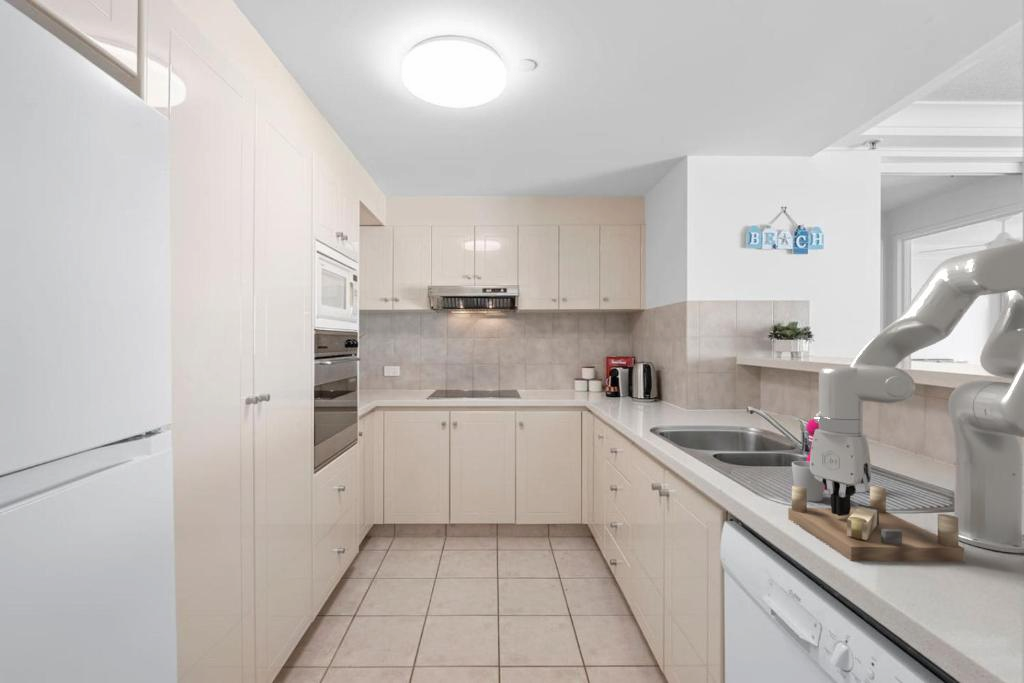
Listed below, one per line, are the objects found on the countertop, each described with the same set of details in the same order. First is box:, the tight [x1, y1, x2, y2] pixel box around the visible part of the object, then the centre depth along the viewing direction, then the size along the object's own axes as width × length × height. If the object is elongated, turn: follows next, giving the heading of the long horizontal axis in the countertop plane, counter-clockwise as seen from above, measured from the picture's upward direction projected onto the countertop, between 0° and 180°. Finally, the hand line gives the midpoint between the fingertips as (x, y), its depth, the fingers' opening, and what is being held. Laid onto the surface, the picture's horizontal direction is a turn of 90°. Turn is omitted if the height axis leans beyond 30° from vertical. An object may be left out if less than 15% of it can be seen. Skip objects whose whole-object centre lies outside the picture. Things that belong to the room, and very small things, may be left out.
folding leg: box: [847, 503, 879, 540], centre depth 93 cm, size 12×3×3 cm, turn 134°
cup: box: [791, 460, 825, 503], centre depth 121 cm, size 8×10×8 cm
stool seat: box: [787, 485, 965, 563], centre depth 95 cm, size 20×20×8 cm
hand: (840, 513), depth 99 cm, fingers closed
